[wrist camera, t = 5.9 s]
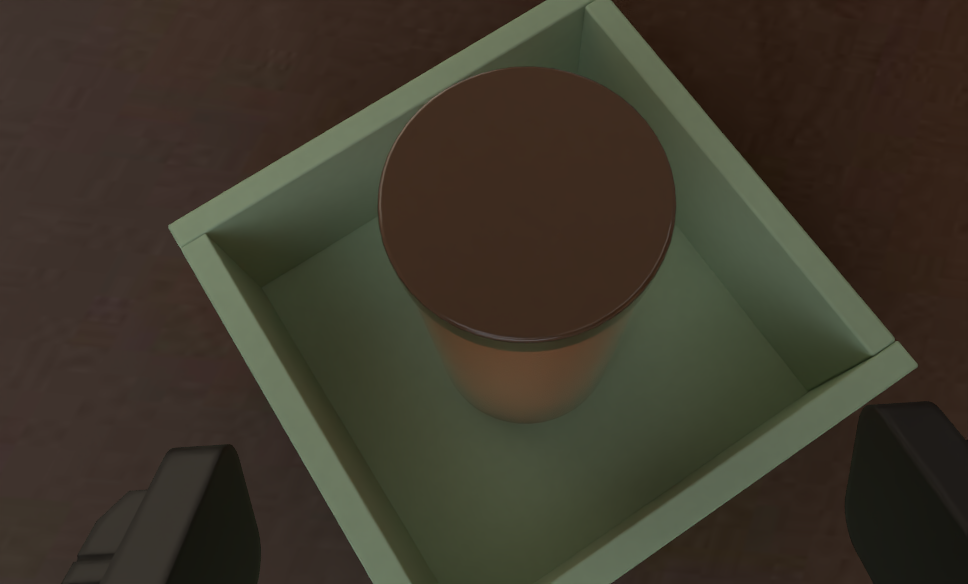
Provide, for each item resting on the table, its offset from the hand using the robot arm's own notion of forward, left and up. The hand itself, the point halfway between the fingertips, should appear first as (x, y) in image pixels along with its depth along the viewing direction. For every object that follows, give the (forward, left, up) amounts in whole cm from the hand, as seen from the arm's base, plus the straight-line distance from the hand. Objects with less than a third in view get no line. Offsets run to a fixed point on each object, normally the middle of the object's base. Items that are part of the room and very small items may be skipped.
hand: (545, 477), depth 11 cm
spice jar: (+4, -2, -12) cm, 13 cm away
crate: (+4, -2, -12) cm, 13 cm away
